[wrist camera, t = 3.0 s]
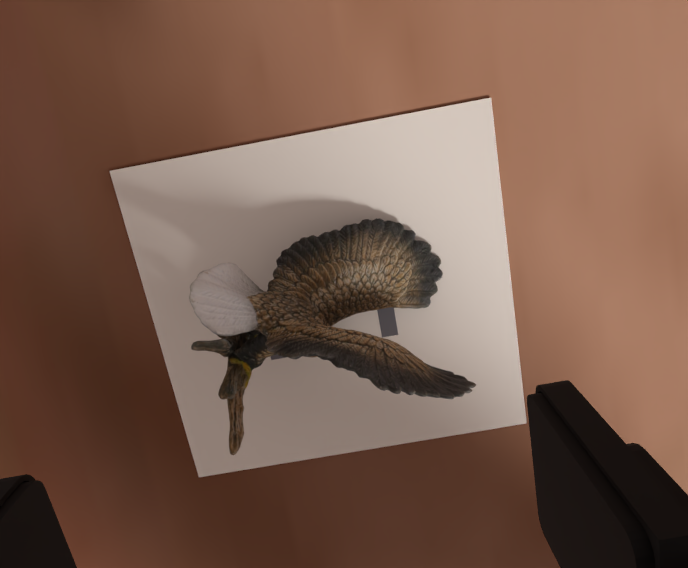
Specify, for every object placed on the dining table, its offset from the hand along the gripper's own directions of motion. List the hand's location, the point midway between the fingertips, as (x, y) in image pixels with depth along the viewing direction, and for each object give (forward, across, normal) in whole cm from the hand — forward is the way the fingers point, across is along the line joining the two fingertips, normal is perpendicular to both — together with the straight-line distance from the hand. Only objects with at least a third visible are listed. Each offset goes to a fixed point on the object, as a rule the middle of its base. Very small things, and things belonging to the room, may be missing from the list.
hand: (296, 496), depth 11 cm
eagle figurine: (+13, 0, +1) cm, 13 cm away
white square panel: (+13, 0, +1) cm, 13 cm away
